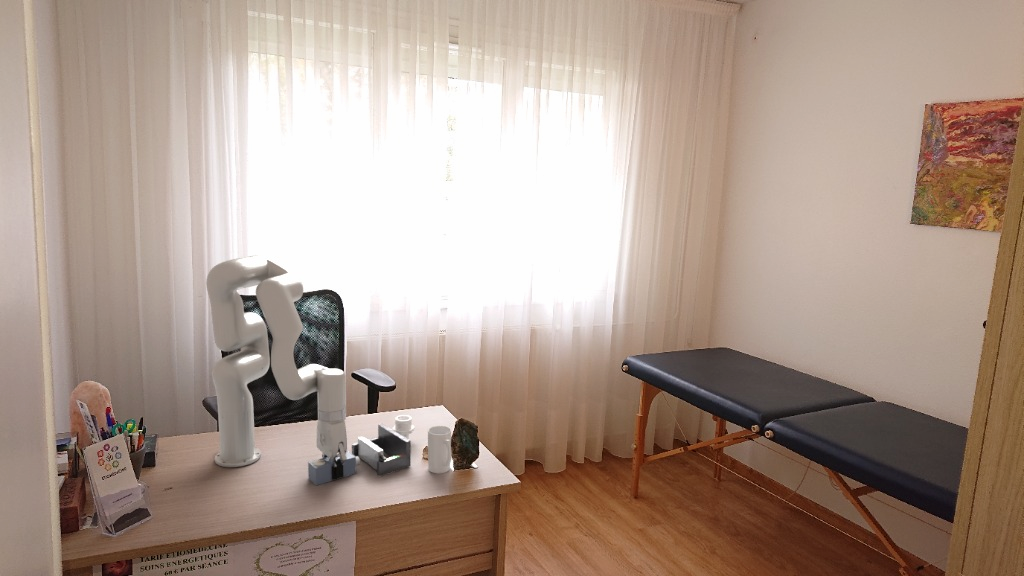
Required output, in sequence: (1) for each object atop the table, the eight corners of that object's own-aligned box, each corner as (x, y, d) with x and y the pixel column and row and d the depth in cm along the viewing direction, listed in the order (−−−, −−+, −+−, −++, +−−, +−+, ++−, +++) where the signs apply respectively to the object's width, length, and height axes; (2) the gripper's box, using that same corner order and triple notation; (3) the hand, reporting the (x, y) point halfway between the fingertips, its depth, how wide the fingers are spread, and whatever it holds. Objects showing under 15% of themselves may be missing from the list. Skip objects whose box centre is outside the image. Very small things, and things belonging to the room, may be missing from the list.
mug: (423, 466, 192) (423, 428, 190) (443, 461, 196) (444, 423, 194) (439, 480, 184) (440, 440, 182) (460, 475, 188) (461, 435, 186)
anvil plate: (383, 474, 186) (383, 454, 185) (358, 456, 196) (358, 437, 195) (388, 472, 187) (388, 453, 186) (363, 455, 197) (362, 436, 196)
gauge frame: (379, 476, 186) (378, 450, 184) (351, 456, 197) (351, 431, 196) (410, 466, 192) (410, 440, 191) (382, 447, 204) (382, 423, 203)
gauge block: (308, 478, 183) (308, 461, 182) (354, 465, 192) (354, 448, 191) (316, 485, 179) (315, 467, 178) (362, 471, 188) (362, 454, 187)
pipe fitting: (402, 435, 214) (402, 412, 212) (418, 441, 210) (418, 417, 208) (388, 441, 209) (388, 418, 207) (404, 448, 204) (404, 423, 203)
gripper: (306, 407, 185) (307, 467, 189) (333, 426, 173) (334, 490, 176) (330, 401, 190) (331, 460, 194) (359, 420, 178) (359, 482, 181)
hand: (333, 474), depth 185 cm, fingers closed on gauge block, 4 cm apart
